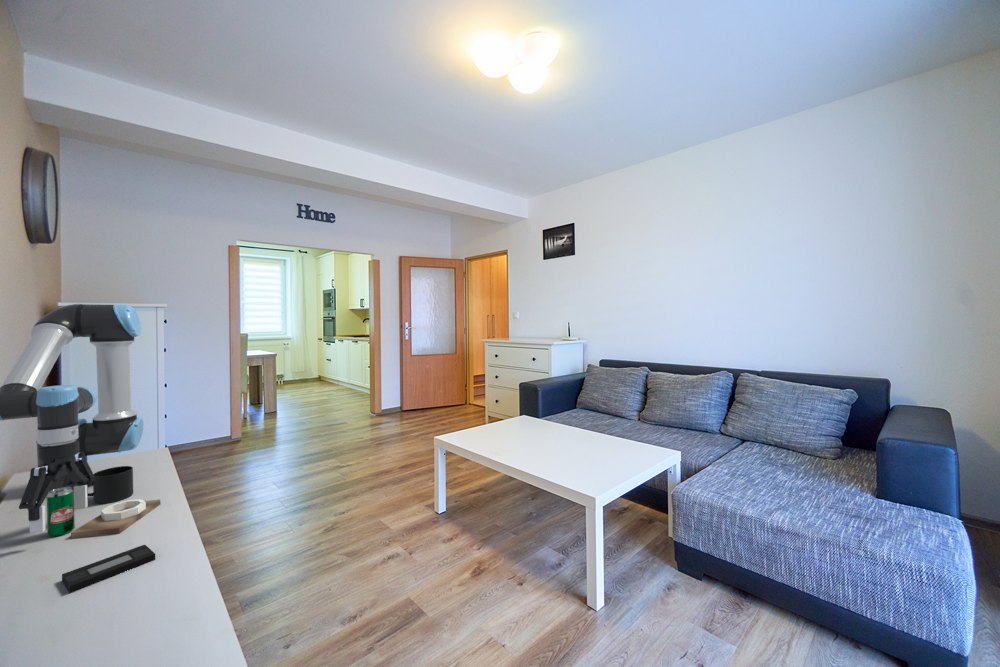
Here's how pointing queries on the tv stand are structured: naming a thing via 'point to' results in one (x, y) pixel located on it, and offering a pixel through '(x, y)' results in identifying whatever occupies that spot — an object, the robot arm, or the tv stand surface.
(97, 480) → the mug
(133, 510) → the socket ring
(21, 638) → the tv stand surface
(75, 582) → the vhs tape
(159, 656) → the tv stand surface
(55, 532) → the soda can
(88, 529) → the walnut board
